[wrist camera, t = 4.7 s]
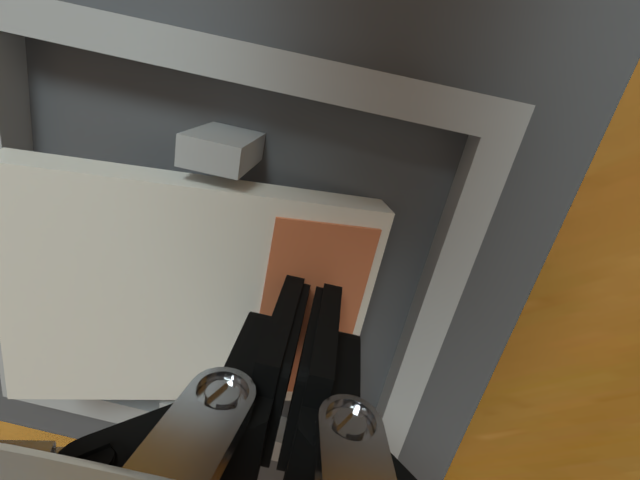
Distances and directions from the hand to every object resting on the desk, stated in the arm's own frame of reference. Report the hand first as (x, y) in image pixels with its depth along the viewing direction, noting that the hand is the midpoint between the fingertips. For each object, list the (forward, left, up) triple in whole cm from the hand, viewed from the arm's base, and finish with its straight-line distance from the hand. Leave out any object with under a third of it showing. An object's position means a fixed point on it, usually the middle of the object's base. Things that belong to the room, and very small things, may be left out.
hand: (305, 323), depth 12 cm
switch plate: (+3, 0, -5) cm, 6 cm away
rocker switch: (+3, 0, 0) cm, 3 cm away
